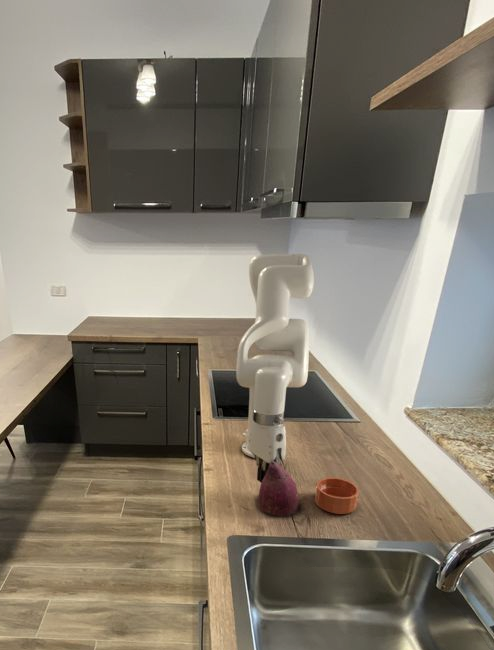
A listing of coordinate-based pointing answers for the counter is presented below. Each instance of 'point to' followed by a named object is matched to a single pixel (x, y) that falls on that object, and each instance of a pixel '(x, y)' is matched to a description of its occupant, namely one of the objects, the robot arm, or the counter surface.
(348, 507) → the bowl
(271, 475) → the vegetable
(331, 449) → the counter surface
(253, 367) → the robot arm
